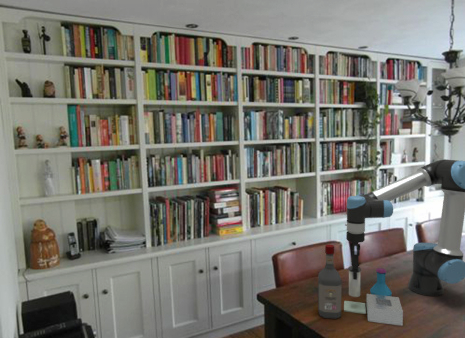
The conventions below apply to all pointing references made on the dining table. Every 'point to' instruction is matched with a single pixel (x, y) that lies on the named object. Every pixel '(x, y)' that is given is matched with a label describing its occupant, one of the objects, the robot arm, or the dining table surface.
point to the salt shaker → (354, 290)
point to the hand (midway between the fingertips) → (354, 283)
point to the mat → (354, 307)
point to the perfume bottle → (381, 284)
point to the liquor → (329, 288)
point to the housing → (384, 309)
